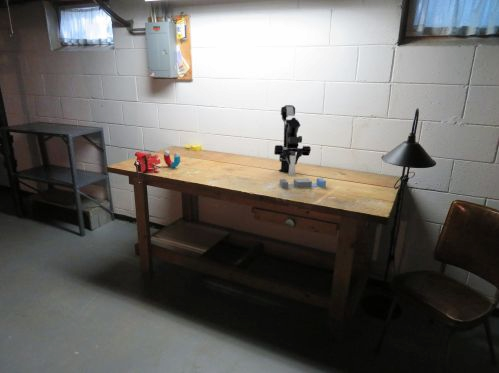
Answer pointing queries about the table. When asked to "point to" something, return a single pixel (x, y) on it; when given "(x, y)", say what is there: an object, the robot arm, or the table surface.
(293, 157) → the dark-capped white cylinder
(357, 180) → the table surface
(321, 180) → the gray notched block
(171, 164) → the magnet
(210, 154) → the table surface
